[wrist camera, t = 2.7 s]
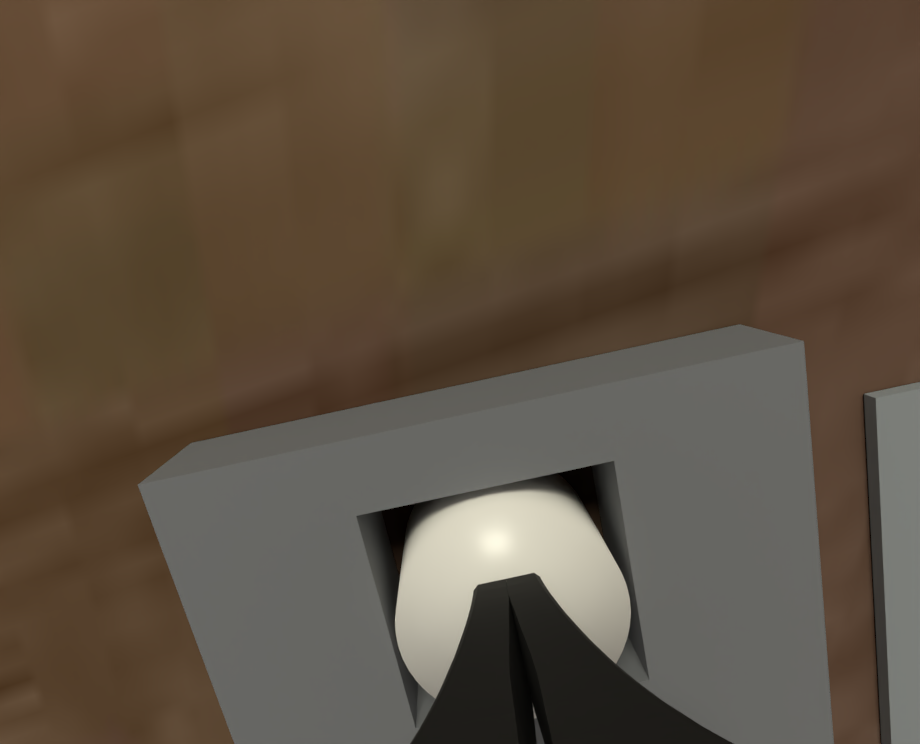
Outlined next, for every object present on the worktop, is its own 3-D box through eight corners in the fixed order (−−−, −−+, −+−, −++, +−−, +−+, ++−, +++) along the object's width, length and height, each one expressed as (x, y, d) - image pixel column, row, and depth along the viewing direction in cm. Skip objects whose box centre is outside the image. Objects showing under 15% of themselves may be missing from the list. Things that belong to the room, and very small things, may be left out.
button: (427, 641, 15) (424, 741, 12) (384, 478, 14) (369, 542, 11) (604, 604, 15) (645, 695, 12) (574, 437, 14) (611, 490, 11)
